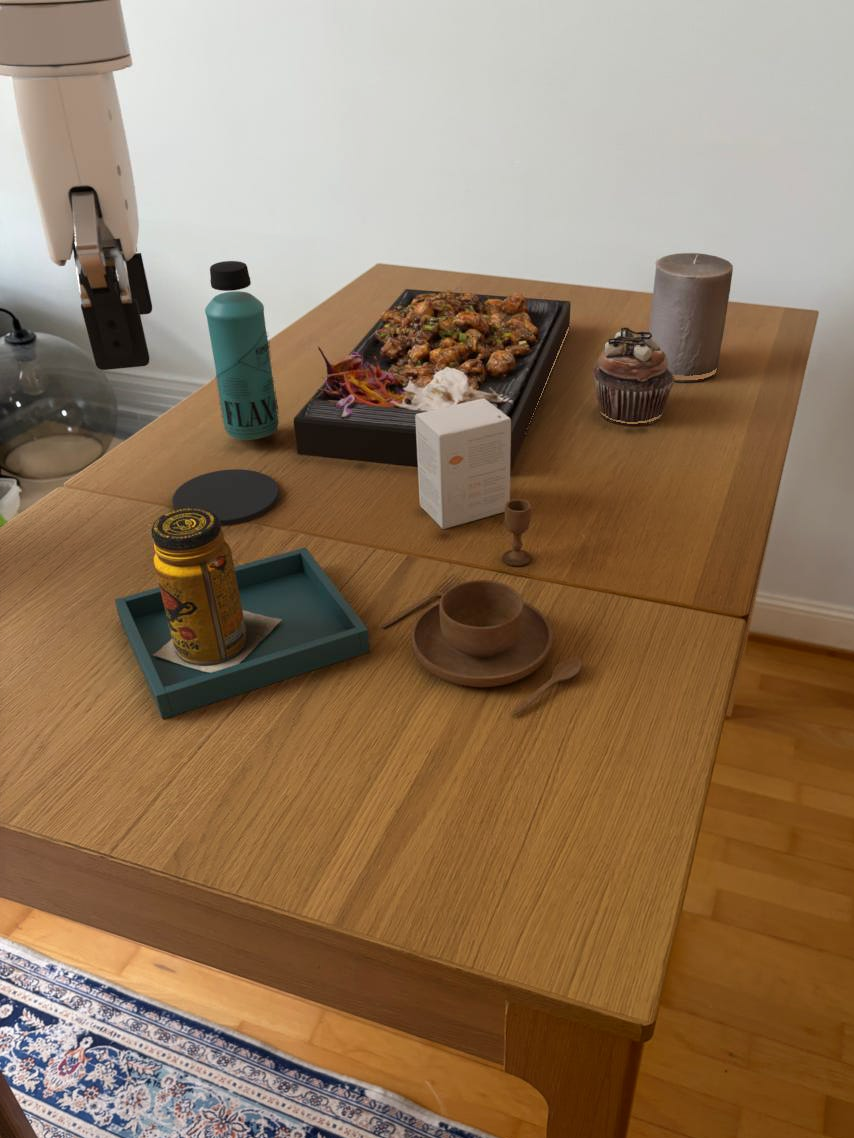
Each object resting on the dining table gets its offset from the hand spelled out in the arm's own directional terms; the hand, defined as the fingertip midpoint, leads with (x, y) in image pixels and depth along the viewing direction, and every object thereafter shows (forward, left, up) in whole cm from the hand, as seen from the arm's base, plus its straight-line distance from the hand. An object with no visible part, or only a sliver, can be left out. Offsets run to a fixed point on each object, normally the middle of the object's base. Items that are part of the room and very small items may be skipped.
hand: (127, 338), depth 65 cm
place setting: (+25, -8, -28) cm, 38 cm away
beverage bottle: (+17, +38, -28) cm, 50 cm away
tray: (+4, +2, -28) cm, 28 cm away
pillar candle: (+74, +31, -28) cm, 85 cm away
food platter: (+44, +40, -28) cm, 66 cm away
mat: (+10, +26, -28) cm, 39 cm away
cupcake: (+60, +23, -28) cm, 70 cm away
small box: (+31, +12, -28) cm, 43 cm away
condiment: (+2, +2, -27) cm, 27 cm away
